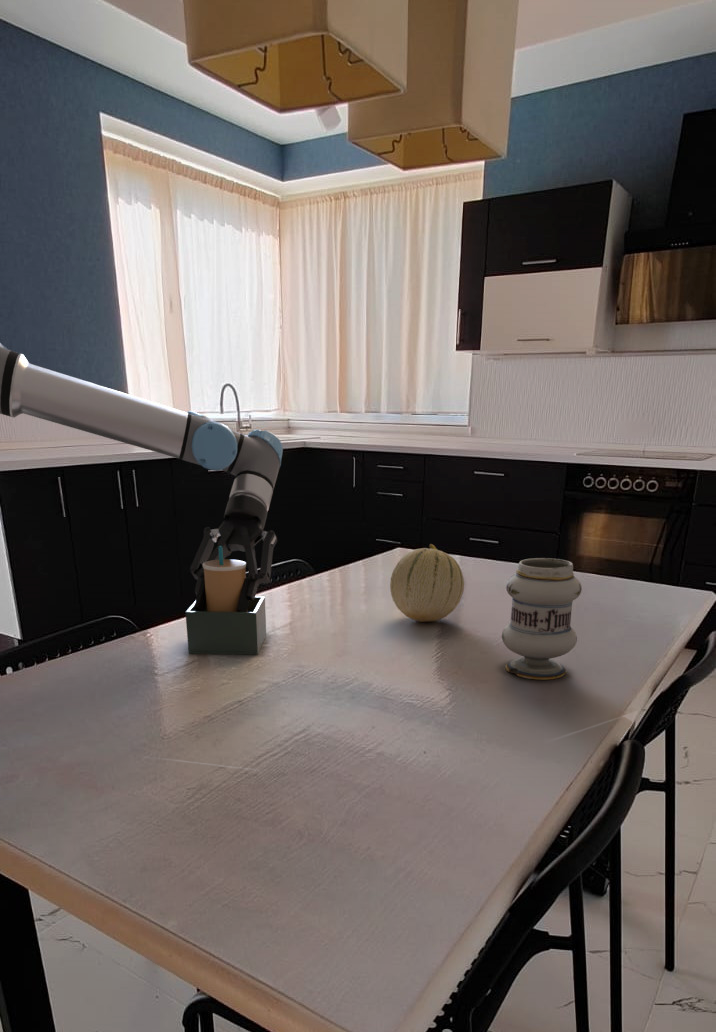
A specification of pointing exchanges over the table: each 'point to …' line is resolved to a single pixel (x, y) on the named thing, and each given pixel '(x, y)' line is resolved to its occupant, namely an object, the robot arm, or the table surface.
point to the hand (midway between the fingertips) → (219, 612)
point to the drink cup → (223, 583)
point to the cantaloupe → (427, 584)
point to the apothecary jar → (541, 617)
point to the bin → (227, 630)
